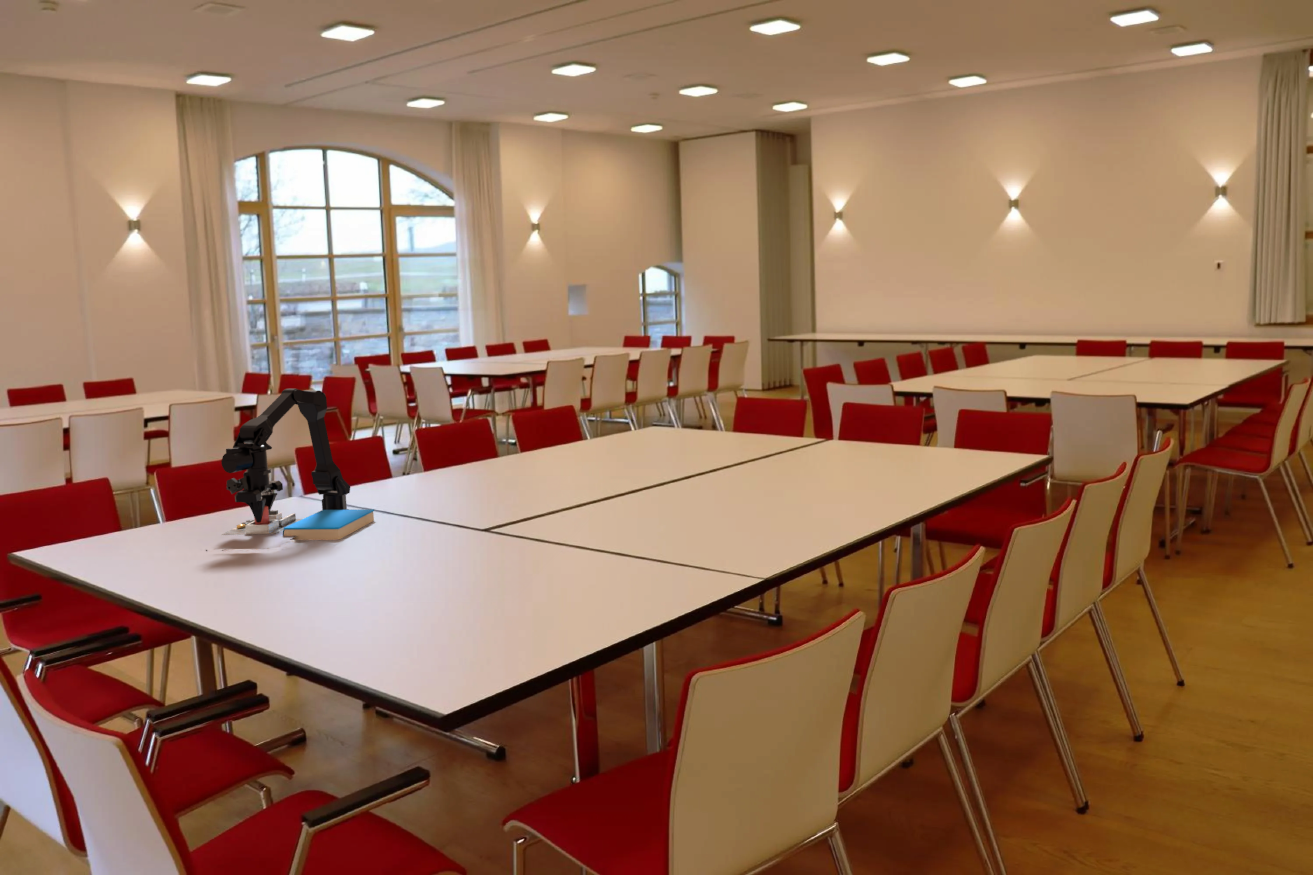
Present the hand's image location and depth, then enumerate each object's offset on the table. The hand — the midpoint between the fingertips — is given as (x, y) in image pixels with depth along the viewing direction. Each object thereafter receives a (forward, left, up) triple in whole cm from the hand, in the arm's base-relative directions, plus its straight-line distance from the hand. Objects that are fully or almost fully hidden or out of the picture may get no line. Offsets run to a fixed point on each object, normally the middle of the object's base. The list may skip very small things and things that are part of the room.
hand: (262, 520), depth 311 cm
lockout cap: (0, 0, -1) cm, 1 cm away
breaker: (0, -6, -3) cm, 7 cm away
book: (-18, -5, -5) cm, 19 cm away
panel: (+3, -6, -4) cm, 8 cm away
